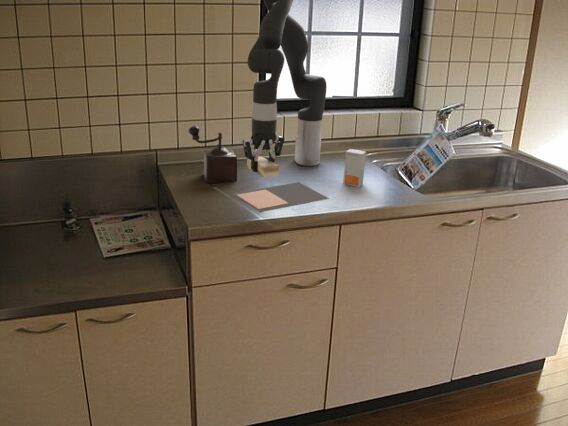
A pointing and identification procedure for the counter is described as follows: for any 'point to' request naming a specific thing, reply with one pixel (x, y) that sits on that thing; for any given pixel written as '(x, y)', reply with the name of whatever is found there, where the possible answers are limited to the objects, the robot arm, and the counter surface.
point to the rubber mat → (280, 196)
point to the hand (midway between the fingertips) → (262, 170)
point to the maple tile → (265, 167)
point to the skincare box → (354, 167)
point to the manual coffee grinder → (217, 160)
